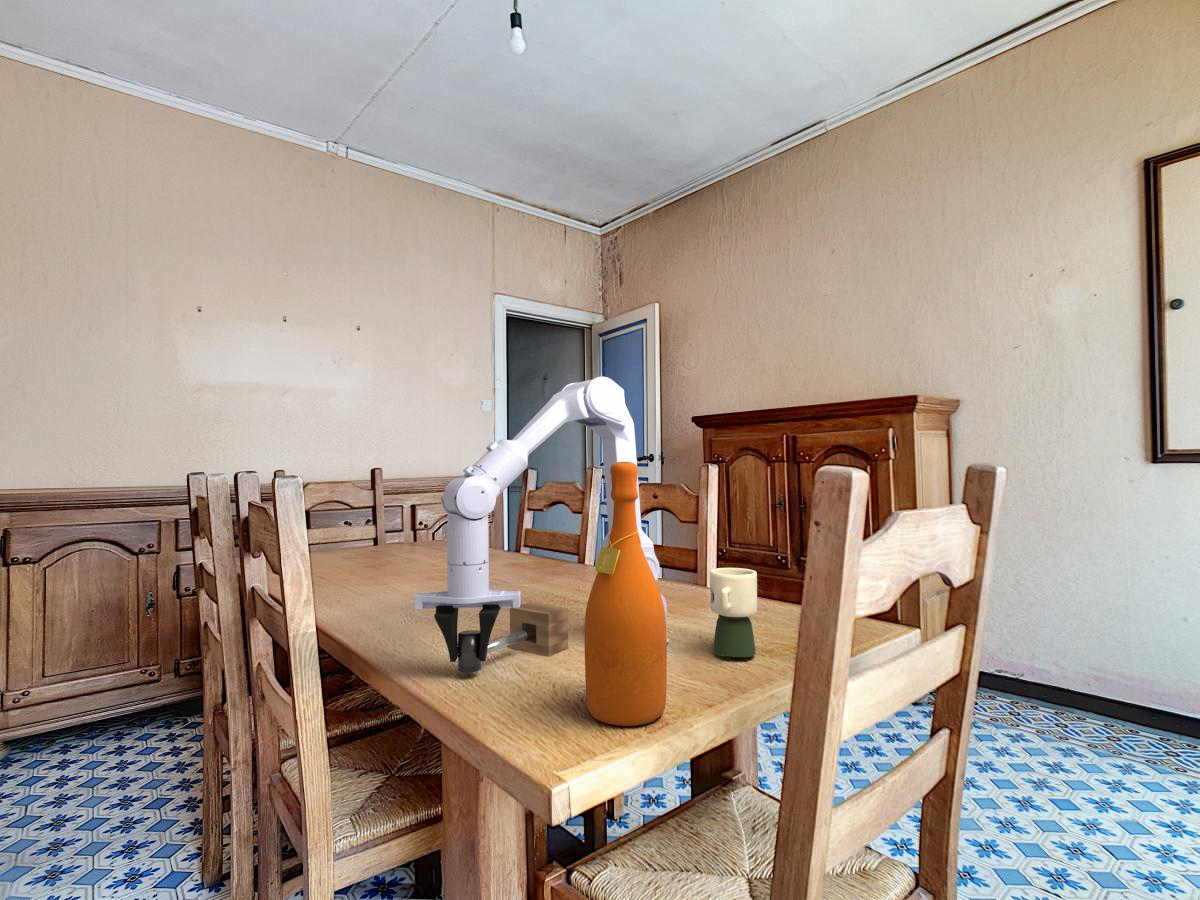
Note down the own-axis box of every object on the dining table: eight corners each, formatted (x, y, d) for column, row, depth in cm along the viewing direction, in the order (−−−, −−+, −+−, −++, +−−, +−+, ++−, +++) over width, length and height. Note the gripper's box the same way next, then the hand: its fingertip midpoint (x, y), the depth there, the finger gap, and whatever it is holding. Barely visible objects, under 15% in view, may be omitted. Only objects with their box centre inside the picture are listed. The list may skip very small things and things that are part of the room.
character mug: (721, 643, 100) (720, 564, 100) (765, 649, 96) (764, 567, 97) (700, 663, 90) (699, 575, 90) (748, 670, 87) (747, 579, 87)
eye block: (530, 640, 102) (530, 601, 102) (568, 648, 98) (567, 607, 98) (510, 648, 98) (509, 607, 98) (548, 656, 94) (548, 614, 94)
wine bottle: (583, 698, 77) (581, 462, 78) (660, 695, 78) (657, 461, 78) (587, 732, 67) (584, 461, 68) (674, 729, 68) (671, 461, 69)
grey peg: (516, 646, 96) (515, 614, 96) (531, 649, 94) (531, 617, 94) (453, 670, 85) (453, 634, 85) (469, 674, 83) (469, 637, 83)
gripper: (522, 557, 90) (522, 649, 90) (423, 558, 89) (423, 651, 89) (518, 564, 83) (518, 665, 82) (410, 566, 82) (410, 667, 82)
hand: (468, 659), depth 85 cm, fingers open, 3 cm apart
